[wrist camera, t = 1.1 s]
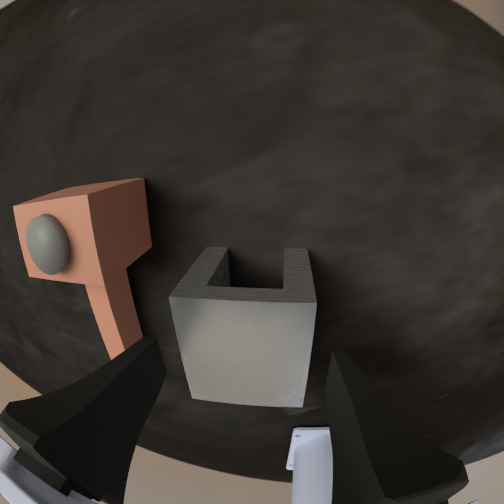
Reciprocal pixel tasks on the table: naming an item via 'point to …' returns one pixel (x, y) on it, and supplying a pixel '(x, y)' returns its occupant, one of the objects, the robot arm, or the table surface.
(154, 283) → the table surface
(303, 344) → the block
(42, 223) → the pink button lever
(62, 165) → the table surface
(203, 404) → the table surface
